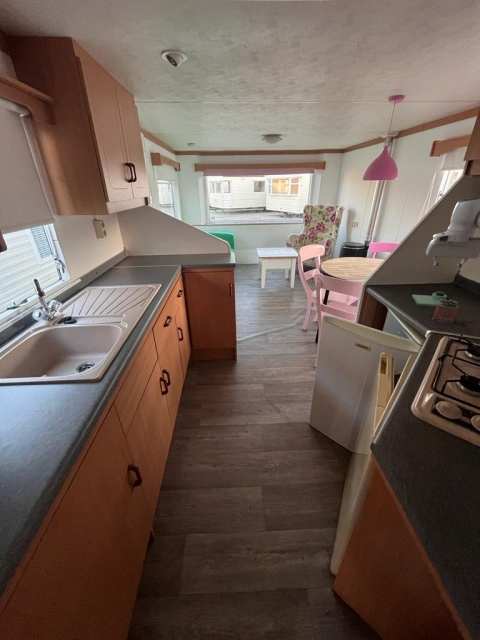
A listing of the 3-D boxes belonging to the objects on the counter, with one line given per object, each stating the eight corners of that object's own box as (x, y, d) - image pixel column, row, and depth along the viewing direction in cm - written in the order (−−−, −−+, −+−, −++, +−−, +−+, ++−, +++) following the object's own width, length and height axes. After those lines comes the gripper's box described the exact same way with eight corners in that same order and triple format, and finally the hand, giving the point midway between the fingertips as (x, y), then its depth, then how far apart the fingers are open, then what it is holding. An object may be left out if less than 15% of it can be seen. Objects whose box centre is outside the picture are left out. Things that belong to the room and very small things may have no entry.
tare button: (442, 294, 137) (443, 291, 136) (444, 297, 135) (445, 293, 134) (434, 294, 138) (435, 291, 137) (436, 296, 135) (438, 293, 135)
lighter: (452, 320, 117) (460, 300, 113) (454, 324, 115) (462, 303, 110) (431, 317, 120) (438, 297, 116) (432, 321, 118) (439, 300, 113)
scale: (442, 298, 139) (444, 293, 138) (451, 308, 129) (453, 302, 127) (411, 296, 143) (412, 290, 142) (417, 305, 133) (419, 299, 131)
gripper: (482, 236, 120) (471, 266, 126) (429, 234, 126) (421, 263, 133) (488, 238, 114) (476, 269, 121) (433, 237, 121) (424, 266, 127)
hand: (447, 266), depth 127 cm, fingers open, 8 cm apart
